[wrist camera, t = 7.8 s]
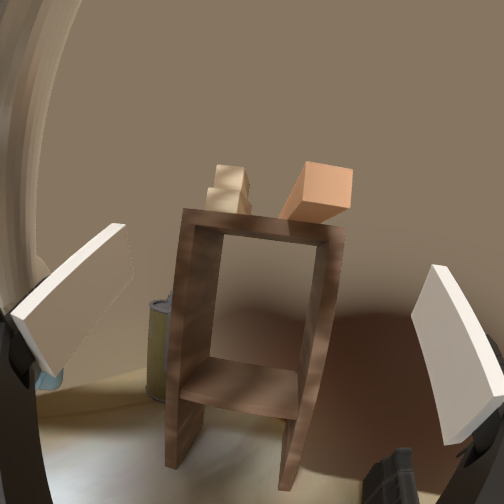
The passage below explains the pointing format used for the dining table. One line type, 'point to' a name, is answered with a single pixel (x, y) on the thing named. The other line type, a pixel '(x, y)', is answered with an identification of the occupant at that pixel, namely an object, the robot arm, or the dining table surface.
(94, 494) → the dining table surface
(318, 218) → the batten
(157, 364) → the canister
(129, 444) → the dining table surface
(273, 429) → the dining table surface
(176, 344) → the rack
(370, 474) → the magazine
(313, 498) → the dining table surface
